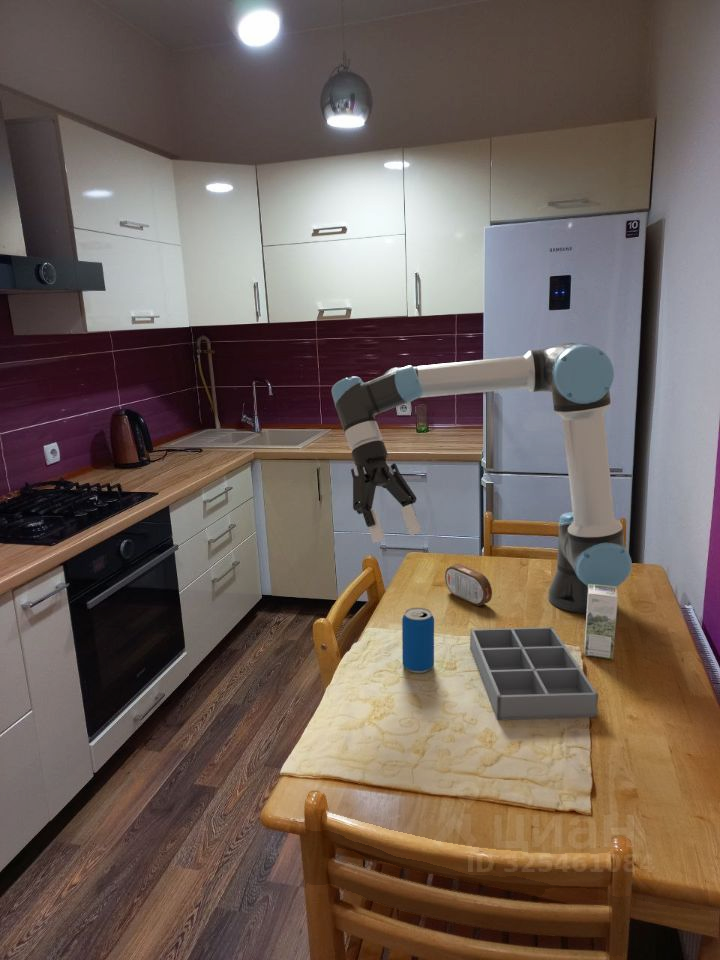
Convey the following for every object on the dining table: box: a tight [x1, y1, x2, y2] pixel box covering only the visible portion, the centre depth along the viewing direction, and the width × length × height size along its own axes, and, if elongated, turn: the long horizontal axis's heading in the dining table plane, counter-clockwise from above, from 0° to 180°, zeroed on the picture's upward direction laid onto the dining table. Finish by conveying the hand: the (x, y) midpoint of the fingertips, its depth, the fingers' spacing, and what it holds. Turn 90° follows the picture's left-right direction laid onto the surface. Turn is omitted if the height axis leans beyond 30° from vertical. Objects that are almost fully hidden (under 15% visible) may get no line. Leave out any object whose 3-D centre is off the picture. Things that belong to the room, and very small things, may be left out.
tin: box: [444, 563, 493, 607], centre depth 164 cm, size 15×3×8 cm, turn 34°
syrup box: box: [584, 584, 619, 660], centre depth 136 cm, size 6×6×14 cm
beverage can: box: [401, 606, 435, 674], centre depth 132 cm, size 6×6×12 cm
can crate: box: [469, 626, 599, 721], centre depth 127 cm, size 18×26×4 cm
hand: (398, 537), depth 137 cm, fingers open, 13 cm apart
